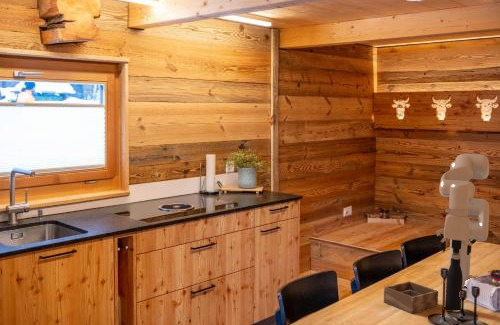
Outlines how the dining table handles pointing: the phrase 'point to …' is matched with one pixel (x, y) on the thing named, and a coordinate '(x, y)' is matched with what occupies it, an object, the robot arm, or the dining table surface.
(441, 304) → the dining table surface
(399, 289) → the crate
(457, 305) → the wine bottle
